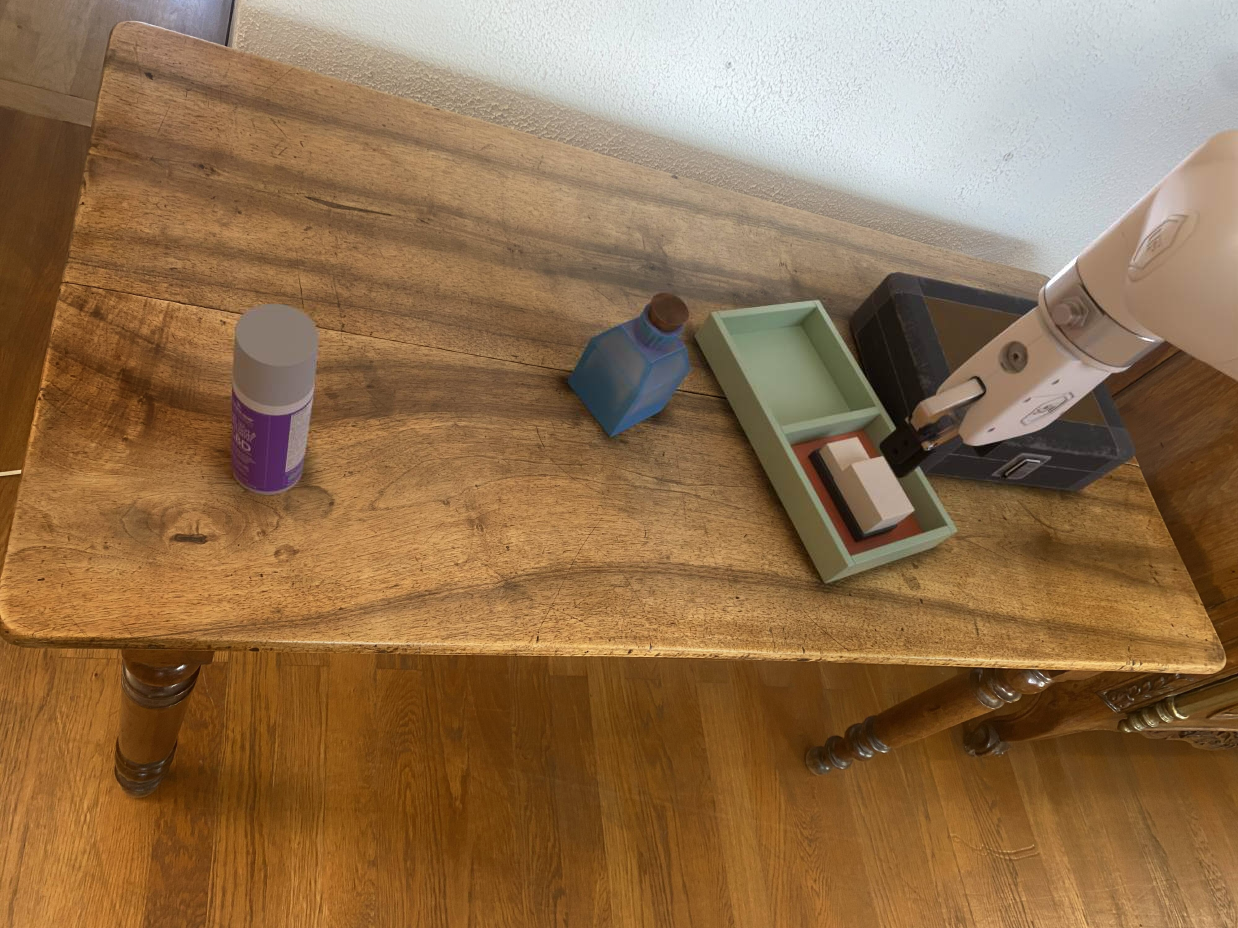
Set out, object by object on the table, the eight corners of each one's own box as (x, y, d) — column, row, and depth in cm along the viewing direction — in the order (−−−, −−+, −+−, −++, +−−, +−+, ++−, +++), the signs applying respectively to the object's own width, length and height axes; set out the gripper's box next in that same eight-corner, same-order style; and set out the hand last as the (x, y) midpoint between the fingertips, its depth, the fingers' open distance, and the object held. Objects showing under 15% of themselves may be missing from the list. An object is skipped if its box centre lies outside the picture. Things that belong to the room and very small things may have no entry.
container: (217, 476, 60) (215, 342, 48) (254, 427, 62) (261, 288, 51) (281, 506, 60) (295, 381, 48) (315, 456, 63) (336, 326, 51)
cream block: (890, 532, 79) (918, 511, 75) (855, 542, 76) (882, 522, 73) (842, 447, 82) (867, 425, 79) (807, 456, 80) (831, 432, 76)
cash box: (893, 479, 83) (946, 436, 77) (844, 314, 93) (887, 265, 87) (1086, 500, 92) (1147, 463, 86) (1022, 347, 102) (1073, 305, 96)
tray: (800, 322, 90) (819, 299, 87) (932, 547, 81) (958, 530, 78) (693, 335, 83) (710, 312, 81) (824, 583, 74) (848, 566, 71)
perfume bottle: (619, 358, 78) (673, 268, 69) (661, 411, 77) (722, 326, 68) (567, 382, 75) (616, 290, 65) (610, 437, 74) (667, 352, 64)
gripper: (1056, 375, 51) (880, 513, 64) (1207, 345, 59) (1025, 472, 73) (985, 277, 54) (831, 429, 67) (1139, 262, 62) (976, 399, 76)
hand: (932, 451), depth 70 cm, fingers open, 9 cm apart
